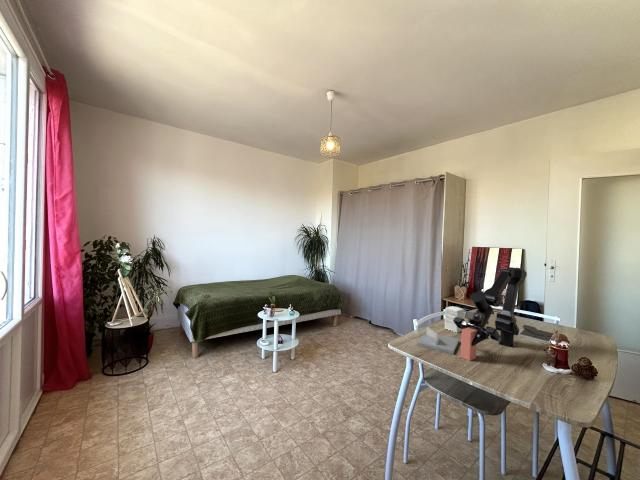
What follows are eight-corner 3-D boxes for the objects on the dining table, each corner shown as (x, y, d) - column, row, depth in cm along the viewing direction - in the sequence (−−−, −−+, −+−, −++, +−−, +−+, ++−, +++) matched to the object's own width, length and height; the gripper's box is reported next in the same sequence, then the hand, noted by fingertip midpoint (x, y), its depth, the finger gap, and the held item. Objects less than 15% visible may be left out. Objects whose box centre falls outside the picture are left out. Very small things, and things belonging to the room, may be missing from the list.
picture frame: (524, 329, 160) (514, 337, 147) (524, 324, 160) (514, 332, 147) (559, 337, 148) (552, 347, 135) (559, 332, 148) (552, 341, 135)
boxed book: (467, 354, 122) (468, 327, 122) (476, 358, 119) (477, 330, 119) (460, 356, 120) (461, 329, 119) (469, 360, 116) (470, 332, 116)
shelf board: (426, 334, 146) (426, 331, 146) (458, 341, 137) (459, 339, 137) (417, 345, 131) (417, 342, 131) (453, 354, 122) (453, 351, 122)
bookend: (426, 336, 139) (426, 327, 139) (428, 336, 139) (429, 327, 139) (435, 344, 129) (436, 334, 129) (438, 344, 129) (438, 334, 129)
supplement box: (451, 326, 159) (452, 305, 159) (463, 330, 153) (464, 308, 153) (444, 328, 155) (444, 307, 155) (456, 333, 149) (457, 310, 149)
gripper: (456, 299, 129) (440, 326, 124) (497, 310, 113) (482, 340, 107) (465, 314, 133) (450, 339, 128) (506, 325, 117) (491, 356, 112)
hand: (467, 343), depth 118 cm, fingers closed on boxed book, 4 cm apart
